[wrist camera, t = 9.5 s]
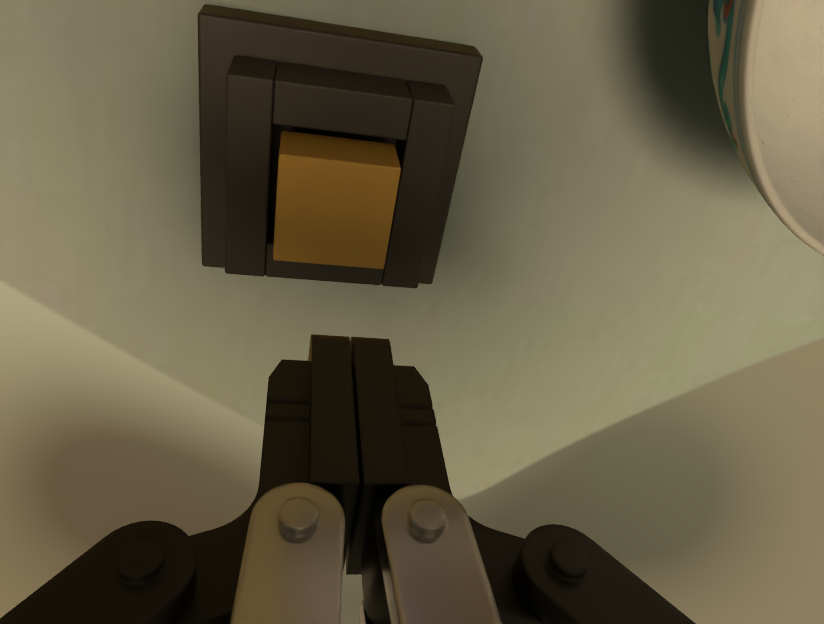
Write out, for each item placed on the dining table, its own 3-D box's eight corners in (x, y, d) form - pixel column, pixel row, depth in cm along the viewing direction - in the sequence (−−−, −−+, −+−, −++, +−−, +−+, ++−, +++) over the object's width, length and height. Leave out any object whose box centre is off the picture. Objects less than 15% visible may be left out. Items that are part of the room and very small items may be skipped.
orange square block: (281, 129, 18) (278, 153, 16) (394, 143, 18) (401, 168, 17) (275, 231, 20) (272, 260, 18) (379, 240, 20) (384, 270, 19)
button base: (203, 3, 18) (186, 27, 16) (475, 46, 20) (498, 74, 17) (206, 248, 23) (193, 297, 20) (427, 267, 24) (440, 314, 22)
